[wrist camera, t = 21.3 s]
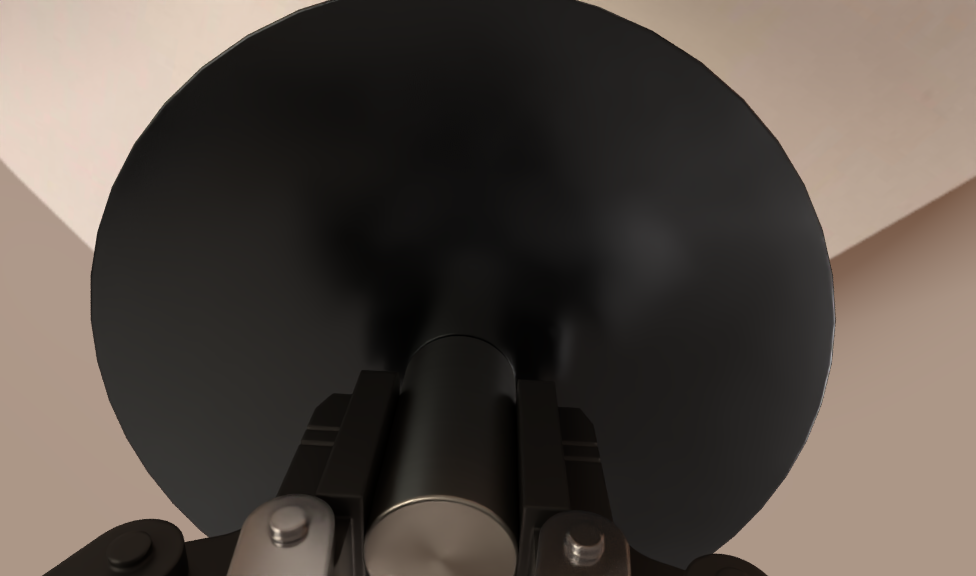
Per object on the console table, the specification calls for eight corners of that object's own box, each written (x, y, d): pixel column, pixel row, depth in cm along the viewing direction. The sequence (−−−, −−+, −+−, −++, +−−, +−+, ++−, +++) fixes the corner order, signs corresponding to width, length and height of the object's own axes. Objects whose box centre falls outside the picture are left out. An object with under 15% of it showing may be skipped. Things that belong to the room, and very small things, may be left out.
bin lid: (175, 577, 19) (37, 823, 13) (47, -45, 12) (-337, -70, 6) (728, 609, 19) (822, 868, 13) (911, 8, 12) (1250, 27, 7)
